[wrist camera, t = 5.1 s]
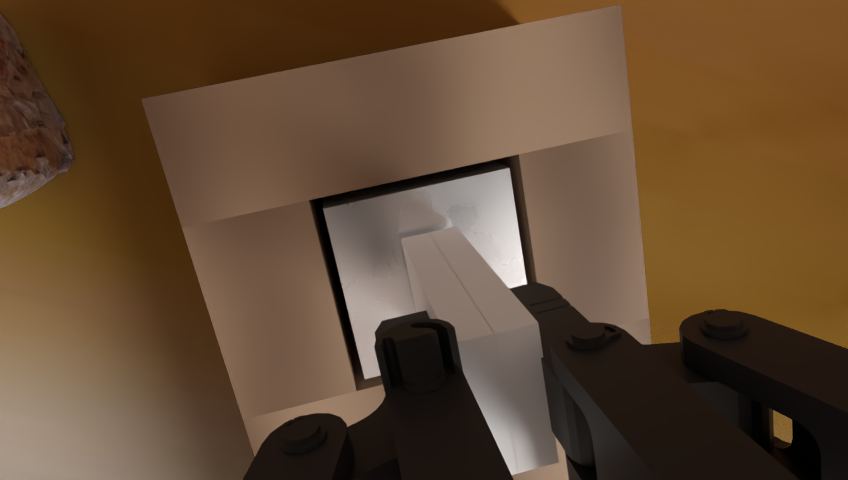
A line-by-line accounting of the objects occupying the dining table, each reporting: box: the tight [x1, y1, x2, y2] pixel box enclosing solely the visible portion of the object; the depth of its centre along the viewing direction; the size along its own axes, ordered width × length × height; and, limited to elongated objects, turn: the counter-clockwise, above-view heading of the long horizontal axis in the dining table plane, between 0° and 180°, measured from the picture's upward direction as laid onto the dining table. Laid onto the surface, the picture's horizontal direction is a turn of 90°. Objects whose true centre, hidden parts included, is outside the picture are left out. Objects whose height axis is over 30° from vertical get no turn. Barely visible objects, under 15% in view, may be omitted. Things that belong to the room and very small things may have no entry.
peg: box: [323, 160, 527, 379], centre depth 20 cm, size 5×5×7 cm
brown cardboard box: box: [141, 5, 651, 480], centre depth 22 cm, size 12×24×8 cm, turn 11°
